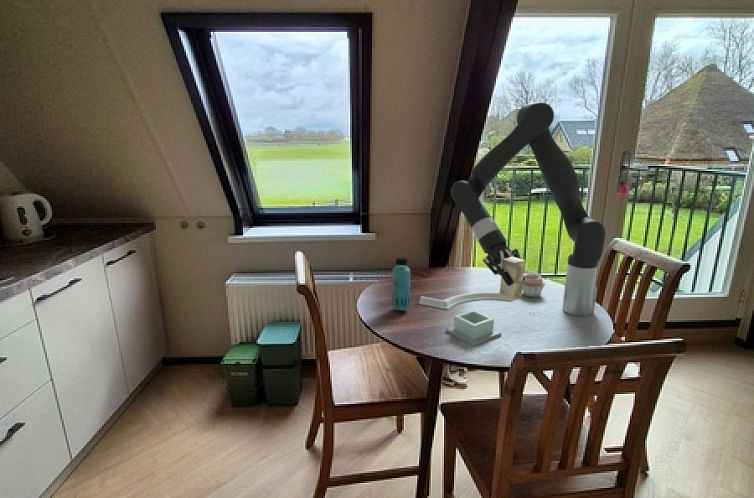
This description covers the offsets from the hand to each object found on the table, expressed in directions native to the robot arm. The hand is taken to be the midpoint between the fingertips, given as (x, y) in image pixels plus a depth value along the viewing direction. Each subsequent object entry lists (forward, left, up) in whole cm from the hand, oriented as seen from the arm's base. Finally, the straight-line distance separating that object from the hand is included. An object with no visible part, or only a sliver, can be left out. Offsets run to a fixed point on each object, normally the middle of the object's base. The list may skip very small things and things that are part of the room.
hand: (516, 282), depth 122 cm
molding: (+1, -34, -19) cm, 38 cm away
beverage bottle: (+30, -26, -18) cm, 44 cm away
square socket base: (+11, -5, -18) cm, 22 cm away
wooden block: (+1, -2, -5) cm, 6 cm away
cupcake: (-23, -32, -18) cm, 44 cm away
